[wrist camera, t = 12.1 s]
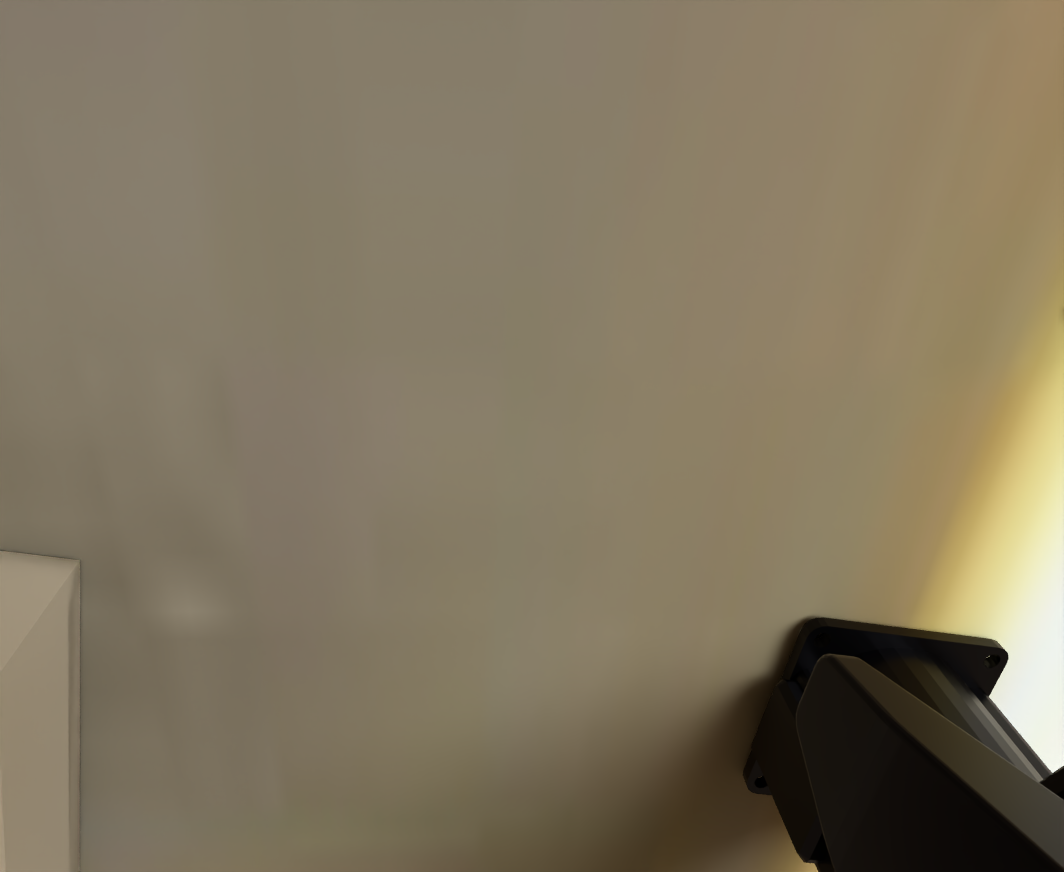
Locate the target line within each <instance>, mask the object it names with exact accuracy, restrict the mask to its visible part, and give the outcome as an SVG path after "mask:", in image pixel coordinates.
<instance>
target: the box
mask: <svg viewBox="0 0 1064 872" xmlns="http://www.w3.org/2000/svg"><path fill="white" fill-rule="evenodd" d="M0 872H80V560H74V559H66V558H58V557H50V556H41V555H33V554H25V553H16V552H8V551H0Z"/></svg>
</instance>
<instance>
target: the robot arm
mask: <svg viewBox="0 0 1064 872" xmlns="http://www.w3.org/2000/svg"><path fill="white" fill-rule="evenodd" d="M821 633H825V634H824V635H823V636H822V637H820V638H817V639H815V638H816V636H817V635H819V634H821ZM988 656H989V657H988ZM987 657H988V658H987ZM1007 661H1008V653H1007V652H1006V651H1005V650H1004V649H1003V647H1002V646H1001V645H1000V644H999V643H998V642H997V641H995V640H992V639H986V638H978V637H971V636H963V635H955V634H947V633H939V632H931V631H924V630H916V629H908V628H900V627H892V626H884V625H877V624H869V623H861V622H853V621H845V620H837V619H830V618H815V619H812V620H810V621H808V622H807V623H806V624H805V625H804V626H803V628H802V629H801V631H800V634H799V636H798V639H797V641H796V644H795V646H794V649H793V651H792V653H791V656H790V658H789V661H788V663H787V666H786V668H785V671H784V673H783V675H782V678H781V680H780V682H779V683H778V684H777V685H776V686H775V688H774V691H773V693H772V696H771V698H770V701H769V703H768V705H767V708H766V710H765V713H764V715H763V718H762V720H761V723H760V725H759V728H758V730H757V732H756V735H755V737H754V740H753V742H752V745H751V747H752V751H751V754H750V756H749V758H748V761H747V763H746V766H745V768H744V771H743V777H744V780H745V782H746V785H747V787H748V789H749V790H750V791H751V792H753V793H757V794H766V795H772V796H773V799H774V801H775V803H776V806H777V808H778V810H779V813H780V815H781V817H782V820H783V822H784V824H785V826H786V829H787V831H788V833H789V836H790V838H791V840H792V843H793V845H794V847H795V850H796V852H797V853H798V855H799V856H800V857H801V859H802V860H803V862H806V863H815V865H816V867H817V870H818V872H1064V766H1063V767H1061V768H1060V769H1058V770H1057V771H1055V772H1054V773H1052V772H1051V771H1050V770H1049V769H1048V768H1047V766H1046V765H1045V764H1044V763H1043V762H1042V760H1041V759H1040V758H1039V757H1038V756H1037V754H1036V753H1035V752H1034V751H1033V750H1032V748H1031V747H1030V746H1029V745H1028V743H1027V742H1026V741H1025V740H1024V739H1023V737H1022V736H1021V735H1020V734H1019V733H1018V731H1017V730H1016V729H1015V728H1014V727H1013V725H1012V724H1011V723H1010V722H1009V721H1008V719H1007V718H1006V717H1005V716H1004V715H1003V713H1002V712H1001V711H1000V710H999V709H998V707H997V706H996V705H995V704H994V703H993V701H992V700H991V699H990V698H989V695H990V694H991V692H992V690H993V688H994V686H995V684H996V682H997V680H998V679H999V677H1000V675H1001V673H1002V671H1003V669H1004V667H1005V666H1006V664H1007ZM760 776H762V777H760ZM758 777H760V778H758Z"/></svg>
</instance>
